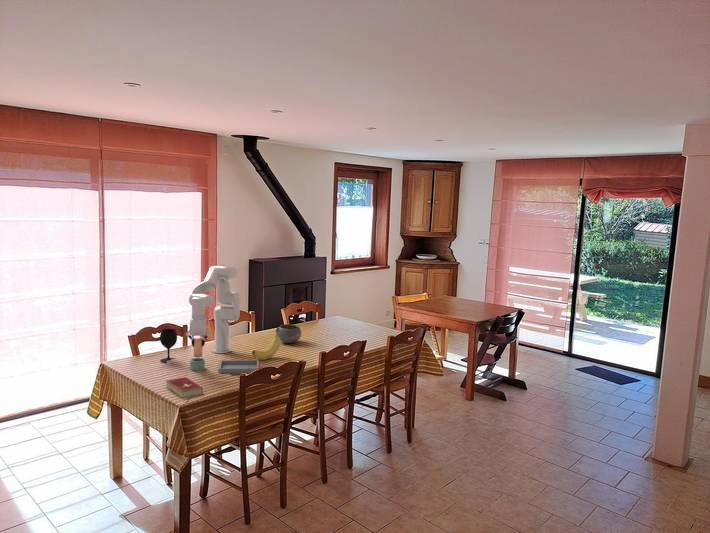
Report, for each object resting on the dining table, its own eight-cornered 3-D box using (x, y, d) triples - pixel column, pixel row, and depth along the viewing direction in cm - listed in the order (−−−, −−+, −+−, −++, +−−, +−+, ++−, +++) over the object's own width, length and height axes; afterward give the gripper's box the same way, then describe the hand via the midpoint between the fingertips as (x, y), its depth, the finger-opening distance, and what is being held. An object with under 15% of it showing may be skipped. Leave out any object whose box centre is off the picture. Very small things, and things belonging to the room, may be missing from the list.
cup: (191, 368, 332) (191, 357, 331) (205, 367, 333) (205, 357, 333) (189, 372, 324) (189, 361, 323) (204, 372, 325) (204, 361, 324)
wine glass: (180, 360, 346) (180, 330, 344) (167, 364, 337) (167, 333, 335) (169, 357, 351) (169, 327, 349) (156, 361, 342) (156, 330, 340)
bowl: (303, 340, 410) (303, 324, 409) (298, 346, 393) (298, 329, 391) (280, 338, 412) (280, 322, 411) (274, 344, 394) (274, 328, 393)
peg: (194, 354, 330) (194, 337, 329) (202, 354, 331) (202, 337, 330) (193, 357, 325) (193, 339, 324) (201, 357, 326) (202, 339, 325)
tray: (220, 365, 340) (220, 360, 339) (258, 365, 344) (258, 359, 344) (218, 374, 322) (218, 368, 322) (258, 373, 327) (258, 368, 326)
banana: (255, 362, 349) (255, 332, 346) (249, 360, 352) (250, 331, 350) (281, 356, 365) (282, 328, 363) (276, 354, 369) (277, 326, 367)
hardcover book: (186, 383, 306) (186, 376, 305) (202, 394, 290) (202, 386, 290) (165, 387, 298) (165, 380, 297) (181, 398, 282) (181, 390, 282)
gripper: (213, 315, 330) (212, 344, 333) (184, 315, 327) (184, 344, 329) (212, 318, 323) (212, 347, 325) (182, 318, 320) (182, 348, 322)
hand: (198, 345), depth 327 cm, fingers closed on peg, 5 cm apart
